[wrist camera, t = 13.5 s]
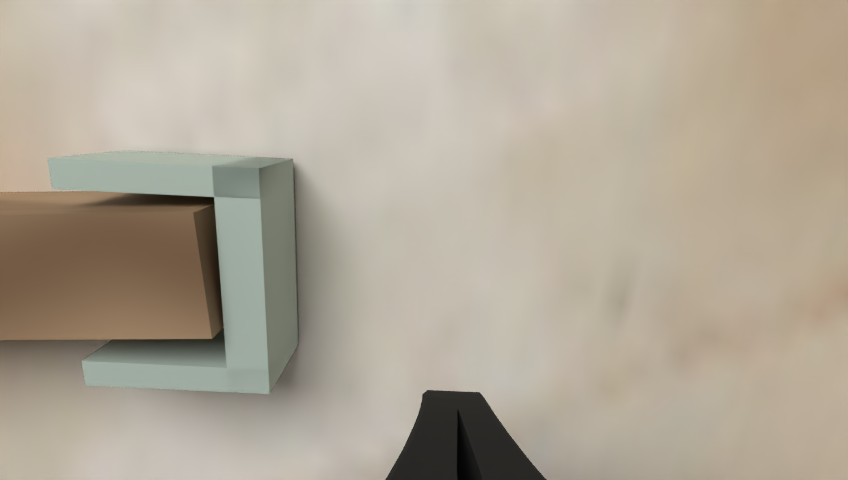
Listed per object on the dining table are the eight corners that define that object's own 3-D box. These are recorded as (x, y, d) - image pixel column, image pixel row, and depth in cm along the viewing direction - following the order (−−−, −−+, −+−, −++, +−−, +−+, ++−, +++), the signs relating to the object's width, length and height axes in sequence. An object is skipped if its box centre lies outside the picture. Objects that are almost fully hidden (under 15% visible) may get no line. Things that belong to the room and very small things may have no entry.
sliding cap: (298, 344, 16) (269, 394, 13) (147, 337, 16) (85, 385, 13) (292, 159, 14) (258, 168, 11) (124, 150, 14) (46, 158, 11)
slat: (264, 285, 16) (212, 338, 12) (-120, 288, 16) (-293, 341, 12) (253, 188, 15) (192, 212, 11) (-154, 192, 15) (-353, 217, 11)
